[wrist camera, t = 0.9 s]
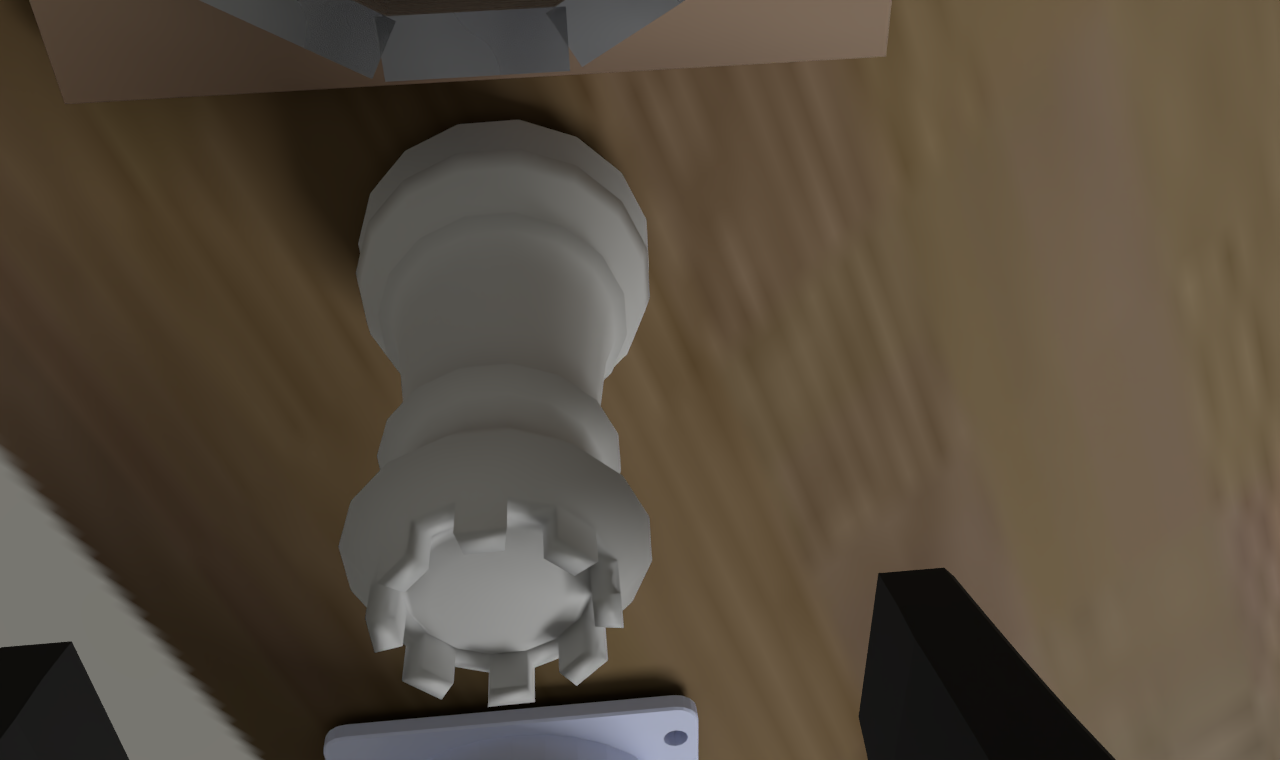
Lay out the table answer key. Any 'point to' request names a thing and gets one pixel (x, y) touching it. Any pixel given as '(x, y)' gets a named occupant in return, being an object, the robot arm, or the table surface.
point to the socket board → (425, 41)
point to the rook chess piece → (499, 408)
